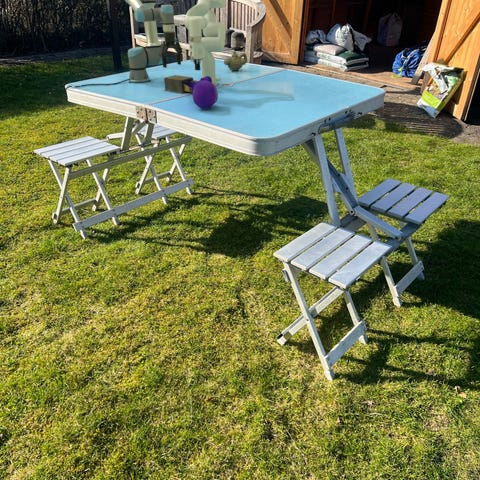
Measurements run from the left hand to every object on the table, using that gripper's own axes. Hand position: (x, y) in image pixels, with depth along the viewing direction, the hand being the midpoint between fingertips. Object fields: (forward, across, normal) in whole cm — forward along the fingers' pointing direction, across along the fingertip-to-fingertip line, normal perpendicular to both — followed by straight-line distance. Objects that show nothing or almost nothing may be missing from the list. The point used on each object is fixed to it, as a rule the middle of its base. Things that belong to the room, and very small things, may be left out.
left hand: (172, 66), depth 304 cm
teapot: (+16, +80, +8) cm, 81 cm away
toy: (+16, -24, -47) cm, 56 cm away
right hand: (0, 0, -23) cm, 23 cm away
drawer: (+15, 0, -16) cm, 22 cm away
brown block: (+16, 0, -5) cm, 16 cm away
